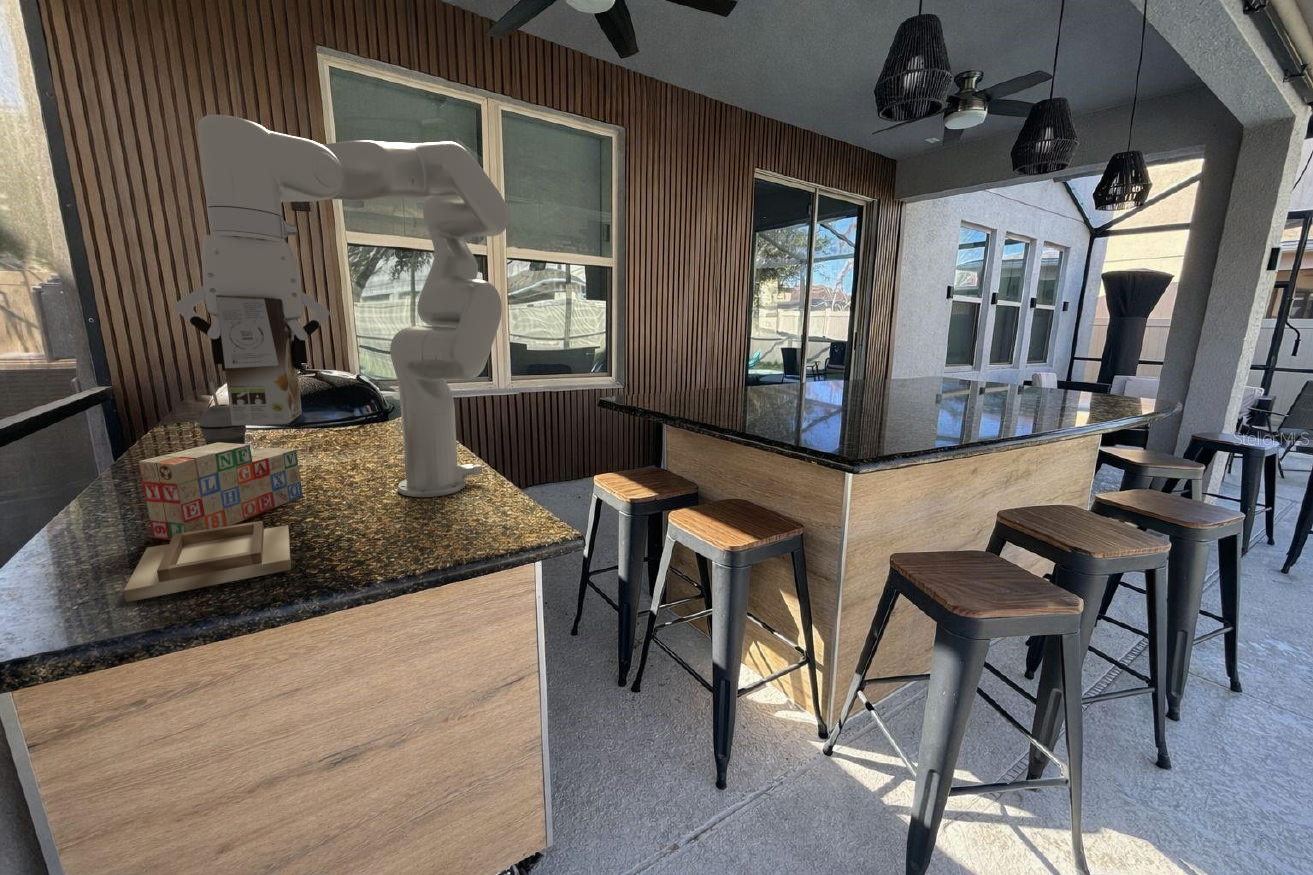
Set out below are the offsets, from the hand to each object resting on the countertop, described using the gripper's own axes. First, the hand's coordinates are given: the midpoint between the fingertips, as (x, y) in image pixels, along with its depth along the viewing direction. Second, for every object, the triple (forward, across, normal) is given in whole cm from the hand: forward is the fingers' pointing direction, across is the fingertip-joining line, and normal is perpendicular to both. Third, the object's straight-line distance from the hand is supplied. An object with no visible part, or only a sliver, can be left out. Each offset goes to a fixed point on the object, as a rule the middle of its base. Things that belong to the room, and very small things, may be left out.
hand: (263, 368), depth 71 cm
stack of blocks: (+26, +6, -22) cm, 35 cm away
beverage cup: (+26, +7, -45) cm, 52 cm away
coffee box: (+7, 0, 0) cm, 7 cm away
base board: (+26, +7, -1) cm, 27 cm away
